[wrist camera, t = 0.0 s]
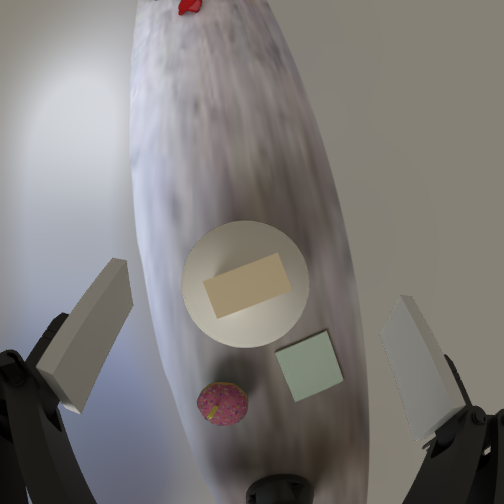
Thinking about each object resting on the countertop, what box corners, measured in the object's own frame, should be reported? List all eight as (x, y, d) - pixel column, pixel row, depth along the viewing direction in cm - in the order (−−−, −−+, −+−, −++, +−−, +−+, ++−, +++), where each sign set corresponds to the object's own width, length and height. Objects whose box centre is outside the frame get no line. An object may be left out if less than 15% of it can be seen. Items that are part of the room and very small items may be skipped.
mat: (342, 379, 47) (343, 380, 46) (294, 401, 46) (295, 402, 46) (325, 330, 48) (326, 330, 47) (274, 352, 47) (275, 352, 47)
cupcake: (194, 401, 46) (182, 432, 34) (212, 366, 46) (204, 391, 35) (235, 419, 46) (235, 453, 34) (255, 385, 46) (260, 414, 34)
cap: (197, -6, 53) (179, -8, 49) (206, -5, 50) (187, -8, 47) (190, 16, 58) (172, 14, 55) (199, 17, 56) (180, 15, 53)
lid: (324, 317, 37) (351, 329, 27) (210, 362, 36) (201, 389, 26) (280, 205, 39) (293, 180, 29) (166, 248, 38) (142, 237, 27)
